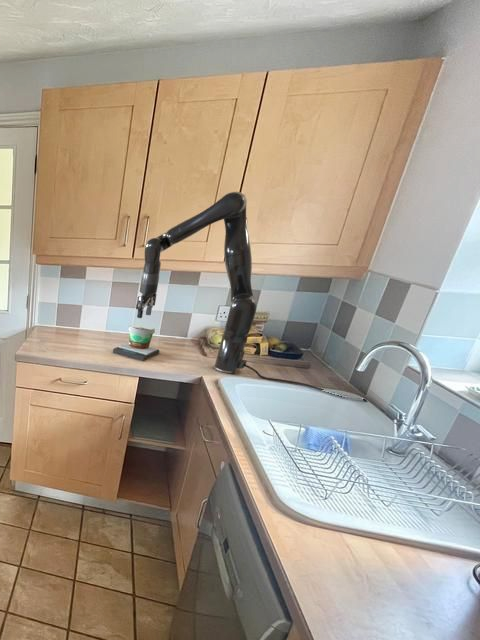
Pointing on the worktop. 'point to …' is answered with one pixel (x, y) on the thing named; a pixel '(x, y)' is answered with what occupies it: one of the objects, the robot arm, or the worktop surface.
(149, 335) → the food container
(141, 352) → the scale
